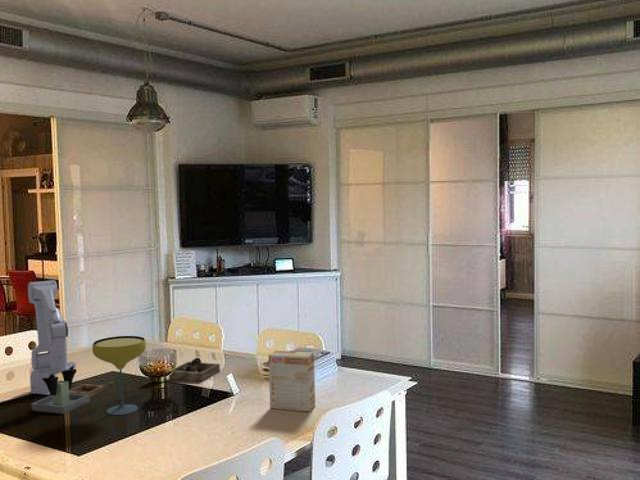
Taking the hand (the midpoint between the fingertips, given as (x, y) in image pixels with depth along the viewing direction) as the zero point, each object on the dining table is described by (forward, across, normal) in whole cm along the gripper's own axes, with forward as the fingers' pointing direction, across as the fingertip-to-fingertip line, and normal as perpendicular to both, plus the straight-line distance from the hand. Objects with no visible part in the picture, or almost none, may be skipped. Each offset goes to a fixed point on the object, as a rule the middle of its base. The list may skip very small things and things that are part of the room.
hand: (60, 392), depth 232 cm
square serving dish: (+5, +48, -28) cm, 56 cm away
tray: (+5, 0, 0) cm, 5 cm away
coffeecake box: (+6, +21, -83) cm, 86 cm away
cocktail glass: (+5, +2, -25) cm, 26 cm away
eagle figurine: (+6, +50, -26) cm, 57 cm away
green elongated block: (+4, 0, 0) cm, 4 cm away
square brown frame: (+5, +16, +2) cm, 17 cm away
